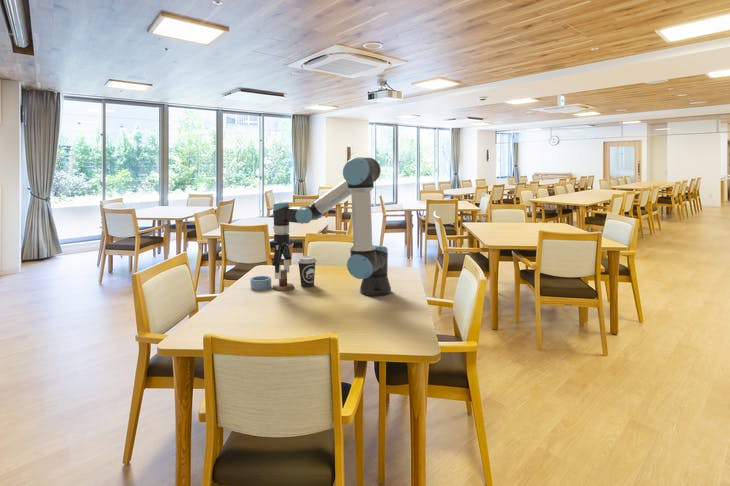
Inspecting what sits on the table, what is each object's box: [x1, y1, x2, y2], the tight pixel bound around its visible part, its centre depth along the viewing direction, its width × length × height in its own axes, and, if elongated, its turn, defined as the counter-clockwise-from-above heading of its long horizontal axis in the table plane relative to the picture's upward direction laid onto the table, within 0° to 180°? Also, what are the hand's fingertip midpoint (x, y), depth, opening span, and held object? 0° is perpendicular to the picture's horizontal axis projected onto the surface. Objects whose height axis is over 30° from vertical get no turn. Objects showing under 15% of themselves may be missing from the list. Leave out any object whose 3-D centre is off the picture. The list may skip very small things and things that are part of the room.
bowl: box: [249, 275, 272, 291], centre depth 237 cm, size 10×10×5 cm
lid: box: [272, 268, 295, 292], centre depth 235 cm, size 10×10×9 cm
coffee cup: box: [297, 255, 317, 288], centre depth 240 cm, size 10×10×15 cm
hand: (282, 275), depth 235 cm, fingers open, 13 cm apart
